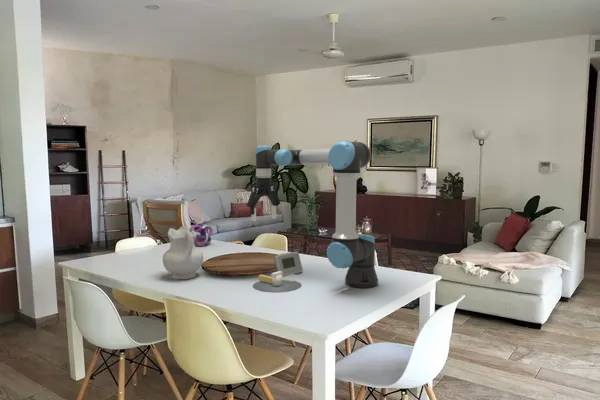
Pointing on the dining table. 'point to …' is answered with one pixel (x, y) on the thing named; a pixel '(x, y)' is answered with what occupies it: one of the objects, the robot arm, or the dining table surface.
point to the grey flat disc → (285, 287)
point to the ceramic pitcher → (182, 254)
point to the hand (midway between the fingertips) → (264, 219)
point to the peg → (272, 278)
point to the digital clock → (288, 263)
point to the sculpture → (202, 234)
